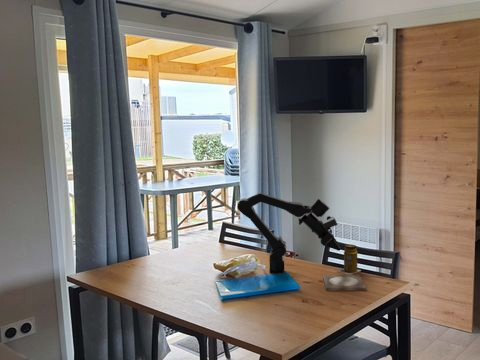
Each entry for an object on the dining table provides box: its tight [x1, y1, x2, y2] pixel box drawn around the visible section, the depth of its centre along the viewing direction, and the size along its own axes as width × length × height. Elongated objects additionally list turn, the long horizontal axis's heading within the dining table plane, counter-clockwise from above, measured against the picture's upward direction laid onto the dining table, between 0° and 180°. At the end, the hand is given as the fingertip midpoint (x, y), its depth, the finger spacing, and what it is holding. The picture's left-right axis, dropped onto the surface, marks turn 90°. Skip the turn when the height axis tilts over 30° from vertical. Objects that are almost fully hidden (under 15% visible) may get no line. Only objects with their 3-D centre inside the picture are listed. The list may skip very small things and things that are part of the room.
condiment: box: [337, 243, 362, 275], centre depth 219 cm, size 7×8×12 cm
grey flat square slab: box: [322, 274, 367, 292], centre depth 202 cm, size 16×16×1 cm
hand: (339, 247), depth 219 cm, fingers open, 9 cm apart
